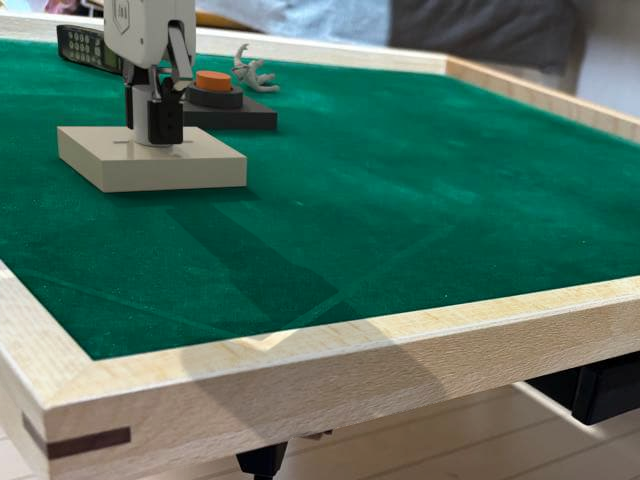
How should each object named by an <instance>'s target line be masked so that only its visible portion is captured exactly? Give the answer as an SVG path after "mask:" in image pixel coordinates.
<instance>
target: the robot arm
mask: <svg viewBox="0 0 640 480" xmlns="http://www.w3.org/2000/svg"><path fill="white" fill-rule="evenodd" d="M196 18H197V16H196V0H103V31H104V41H105V43H106V45H107V46H108V48H109V49H110V50H112V51H113V52H114V53H116V54H117V55H119V56H121V57H122V58H121V62H122V63H123V75H122V82H123V85H124V106H125V127H128V128H129V129H131V130H133V97H132V87H133V86H134V85H150V92H151V99H152V101H149V100H147V122H148V141H149V142H150V143H151V144H153V145H175V144H182V143H183V104H184V102H185V91H186V88H187V86H188V85H189V84H190V83H191V82H192V80H193V79H194V74H193V71H192V68H193V67H194V65H195V63H196V54H197V53H196V52H197V19H196ZM161 61H162V62H163V61H165V62H167V63H169V64H170V66H158V65H159V64H160V63H161ZM160 75H169V76H164V78H163V79H162V81H161V76H160Z"/></svg>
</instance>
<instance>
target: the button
mask: <svg viewBox="0 0 640 480" xmlns="http://www.w3.org/2000/svg"><path fill="white" fill-rule="evenodd" d="M195 75H196V77H195V79H196V86H197V87H200V88H204V89H209V90H215V91H231V84H232V77H231V75H229V74H227V73H223V72H219V71H212V70H197V71H196V74H195Z"/></svg>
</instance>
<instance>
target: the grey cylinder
mask: <svg viewBox="0 0 640 480" xmlns="http://www.w3.org/2000/svg"><path fill="white" fill-rule="evenodd" d="M132 97H133V132H134V141H135V142H137V143H140V144H143V145H148V146H157V147H164V146H170V145H153V144H151V143H150V142H149V141H148V122H147V100H149V101H152V99H151V92H150V85H134V86H133V87H132Z"/></svg>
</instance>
